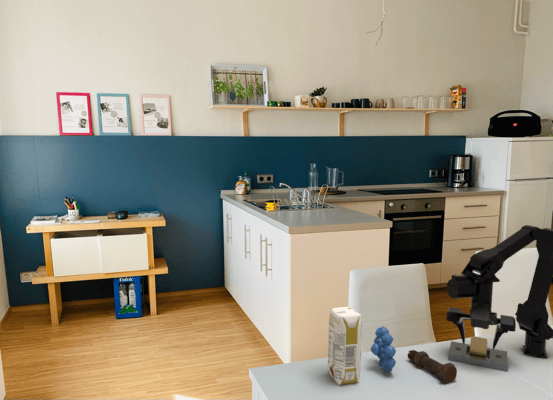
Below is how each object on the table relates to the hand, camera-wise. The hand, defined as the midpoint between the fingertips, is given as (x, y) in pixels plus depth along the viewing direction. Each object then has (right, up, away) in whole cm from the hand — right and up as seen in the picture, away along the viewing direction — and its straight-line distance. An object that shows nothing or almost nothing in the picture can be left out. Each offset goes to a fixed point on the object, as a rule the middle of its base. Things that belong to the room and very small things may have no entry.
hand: (478, 346), depth 136 cm
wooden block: (0, -4, 0) cm, 4 cm away
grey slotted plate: (0, -4, 0) cm, 4 cm away
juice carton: (-43, -5, -12) cm, 45 cm away
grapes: (-31, -5, -7) cm, 32 cm away
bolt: (-17, -5, -8) cm, 20 cm away
